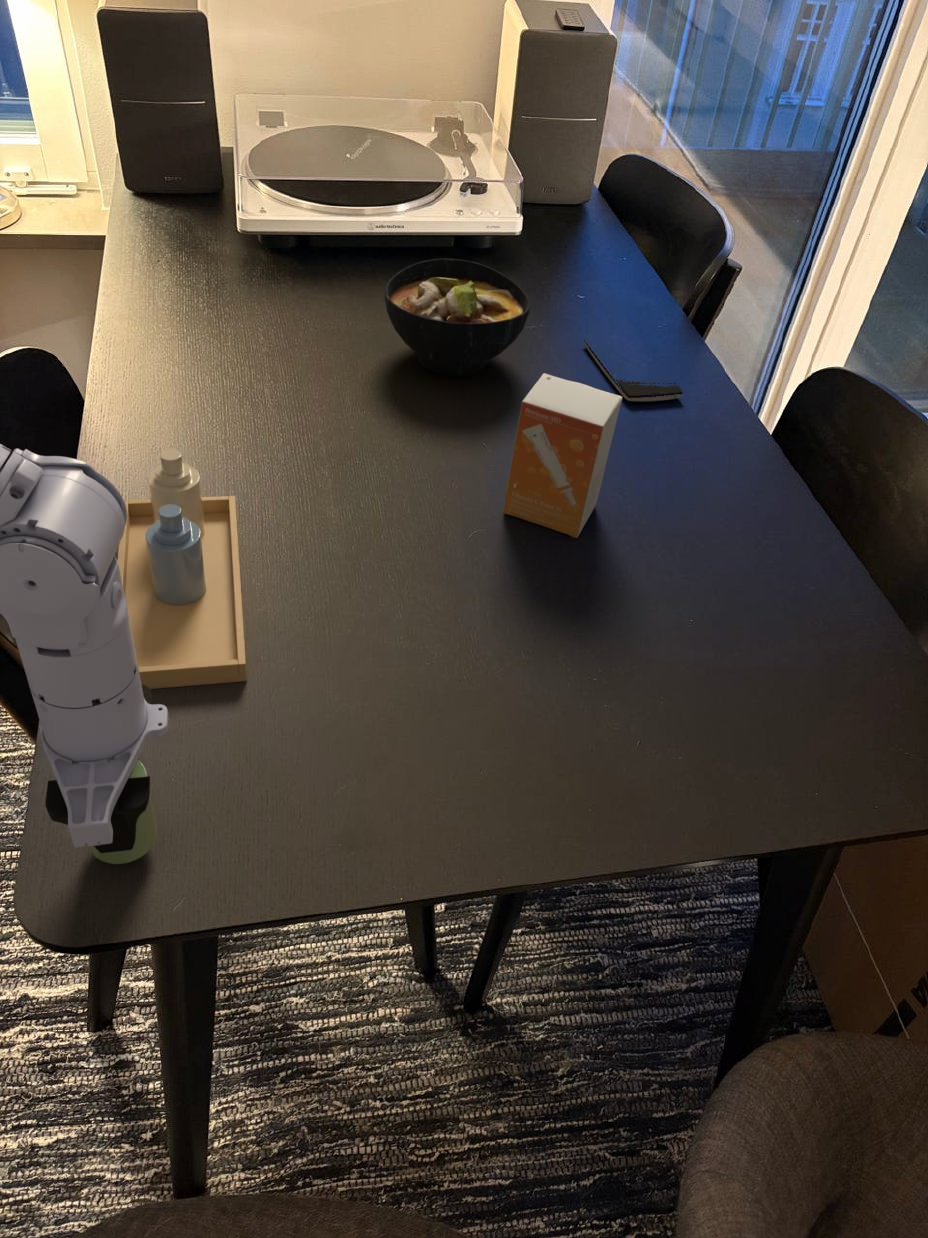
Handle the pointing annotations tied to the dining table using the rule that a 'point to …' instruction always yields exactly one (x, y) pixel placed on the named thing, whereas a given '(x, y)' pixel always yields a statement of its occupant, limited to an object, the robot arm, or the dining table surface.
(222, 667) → the tray
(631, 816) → the dining table surface
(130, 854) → the sage bottle
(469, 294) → the bowl
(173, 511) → the blue bottle
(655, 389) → the laptop
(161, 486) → the cream bottle
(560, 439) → the small box
